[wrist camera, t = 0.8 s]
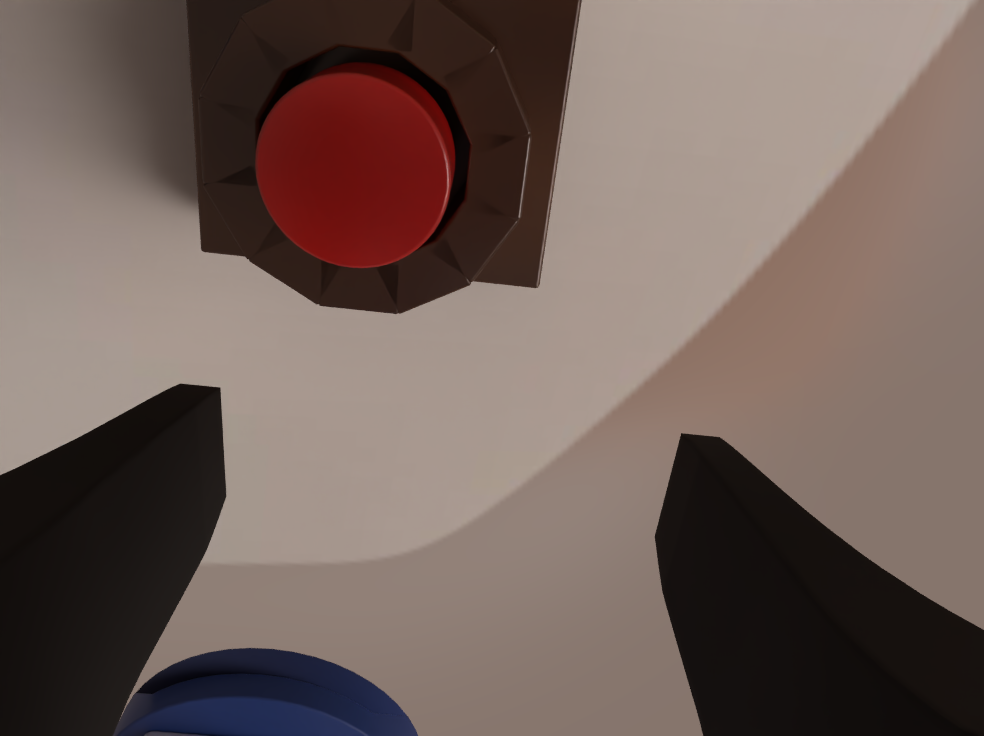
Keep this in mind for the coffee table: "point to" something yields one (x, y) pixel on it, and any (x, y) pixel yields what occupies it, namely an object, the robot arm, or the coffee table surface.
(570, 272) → the coffee table surface
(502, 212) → the switch box
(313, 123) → the light button
